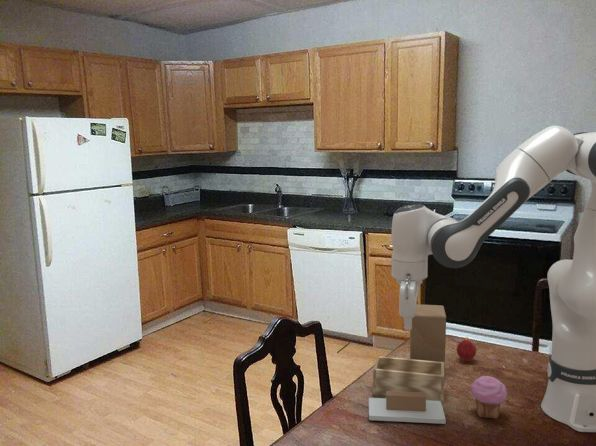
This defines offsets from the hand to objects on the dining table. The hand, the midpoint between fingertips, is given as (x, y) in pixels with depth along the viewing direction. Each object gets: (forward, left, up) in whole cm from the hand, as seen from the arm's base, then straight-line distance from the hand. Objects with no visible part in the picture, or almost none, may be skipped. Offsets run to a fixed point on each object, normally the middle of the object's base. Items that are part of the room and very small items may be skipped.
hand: (409, 322), depth 129 cm
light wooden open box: (+1, -11, -25) cm, 28 cm away
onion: (-16, -35, -25) cm, 46 cm away
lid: (+1, +1, -25) cm, 25 cm away
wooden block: (-4, -25, -25) cm, 36 cm away
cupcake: (-20, -4, -25) cm, 33 cm away
